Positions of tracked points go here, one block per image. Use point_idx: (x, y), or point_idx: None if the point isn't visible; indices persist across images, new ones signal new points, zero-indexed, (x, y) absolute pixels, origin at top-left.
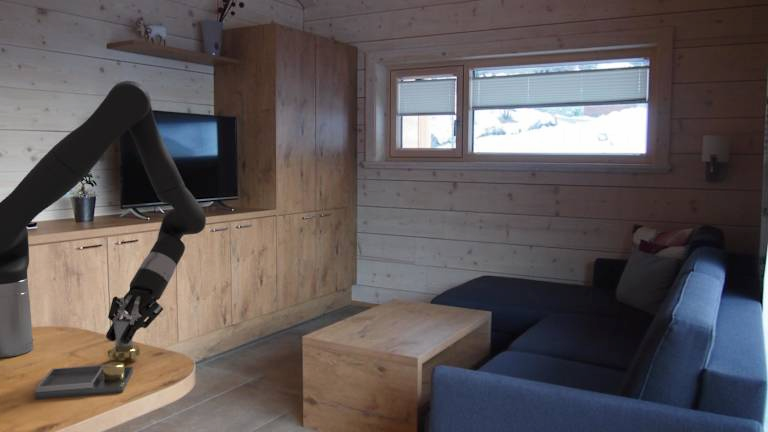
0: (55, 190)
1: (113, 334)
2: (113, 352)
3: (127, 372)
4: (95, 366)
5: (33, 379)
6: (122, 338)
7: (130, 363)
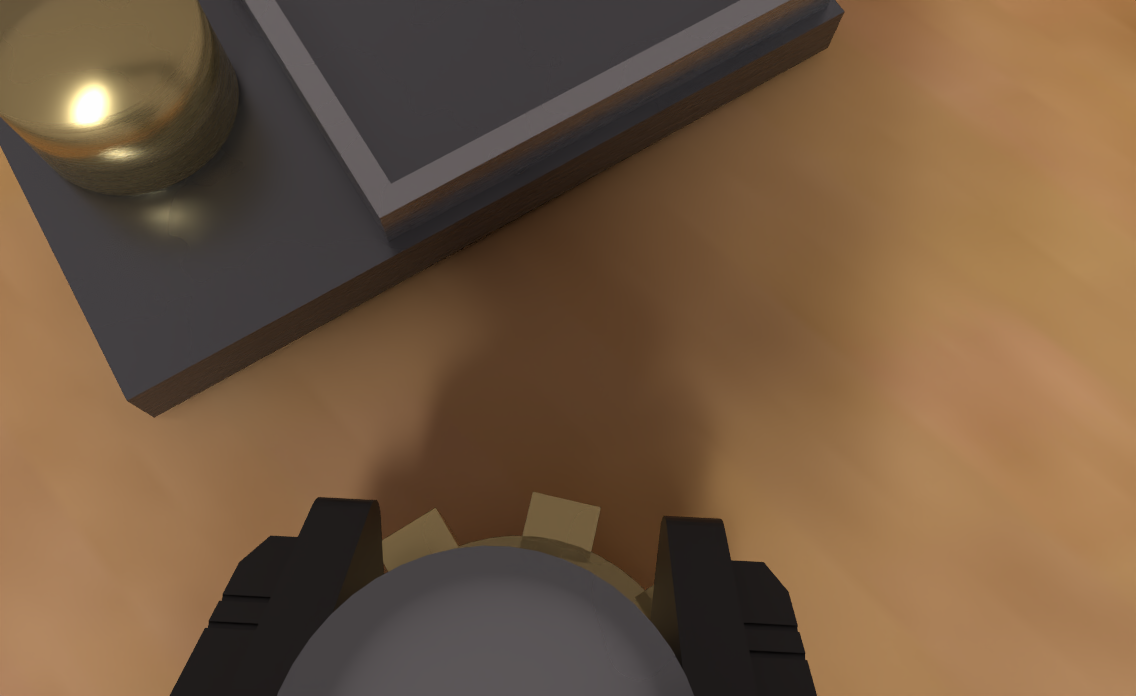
0: None
1: None
2: (565, 551)
3: (78, 244)
4: (454, 150)
5: (984, 4)
6: (320, 503)
7: None
